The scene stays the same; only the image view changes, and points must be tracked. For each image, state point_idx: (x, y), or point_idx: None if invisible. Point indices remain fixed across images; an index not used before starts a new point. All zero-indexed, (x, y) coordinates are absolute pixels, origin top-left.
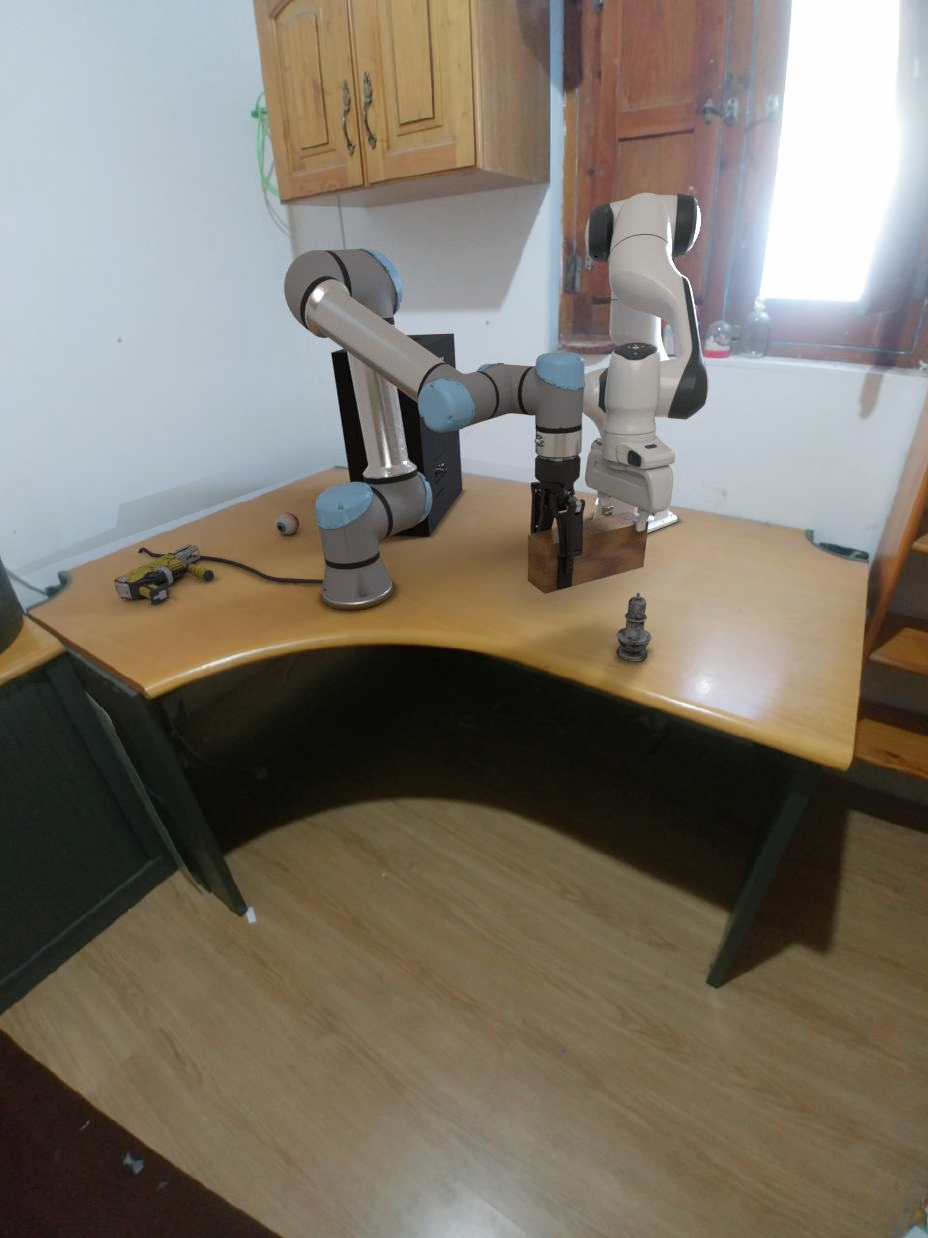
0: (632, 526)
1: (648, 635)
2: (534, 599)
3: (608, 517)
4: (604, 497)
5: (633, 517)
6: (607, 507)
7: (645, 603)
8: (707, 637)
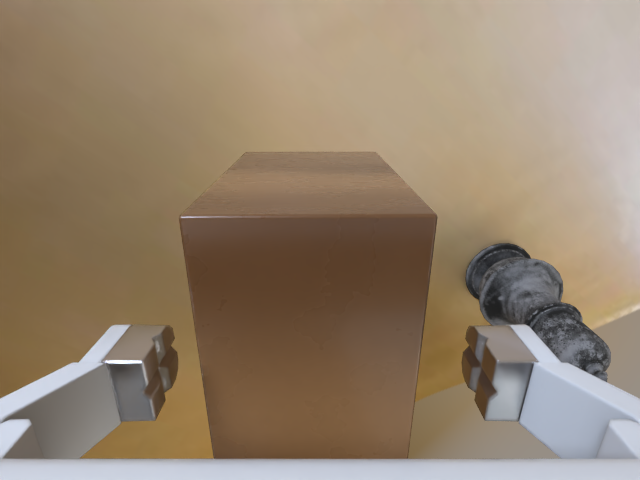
0: (468, 385)
1: (548, 272)
2: (179, 322)
3: (229, 387)
4: (41, 449)
5: (317, 264)
6: (154, 407)
7: (609, 349)
8: (572, 65)
